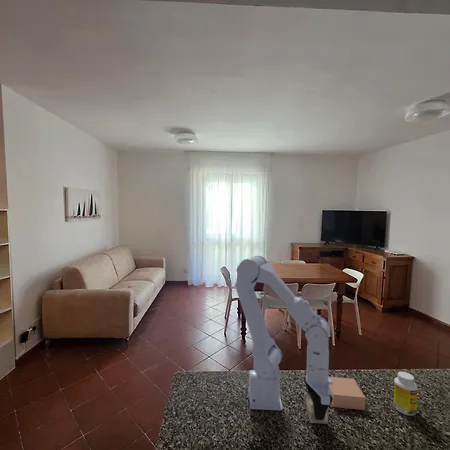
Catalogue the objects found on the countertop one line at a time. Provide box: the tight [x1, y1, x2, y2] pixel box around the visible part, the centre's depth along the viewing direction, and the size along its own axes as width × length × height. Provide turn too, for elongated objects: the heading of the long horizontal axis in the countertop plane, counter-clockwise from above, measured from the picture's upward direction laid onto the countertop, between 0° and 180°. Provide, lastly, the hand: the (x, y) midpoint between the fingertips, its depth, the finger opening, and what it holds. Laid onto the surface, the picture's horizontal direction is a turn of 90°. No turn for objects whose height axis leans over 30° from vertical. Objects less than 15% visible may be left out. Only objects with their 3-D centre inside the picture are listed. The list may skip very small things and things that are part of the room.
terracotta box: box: [328, 376, 366, 411], centre depth 80 cm, size 9×9×4 cm
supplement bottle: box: [393, 371, 418, 417], centre depth 75 cm, size 6×6×10 cm
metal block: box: [305, 393, 329, 425], centre depth 72 cm, size 4×4×5 cm
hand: (316, 411), depth 72 cm, fingers closed on metal block, 4 cm apart
